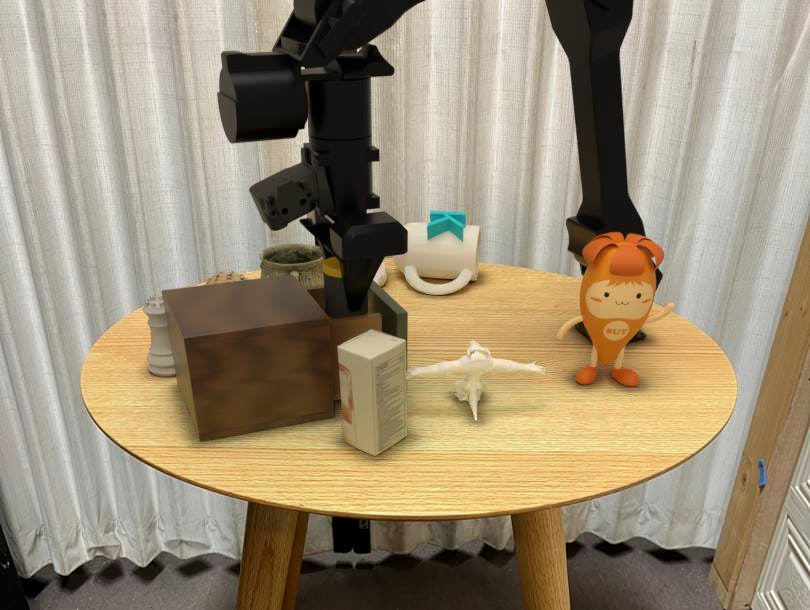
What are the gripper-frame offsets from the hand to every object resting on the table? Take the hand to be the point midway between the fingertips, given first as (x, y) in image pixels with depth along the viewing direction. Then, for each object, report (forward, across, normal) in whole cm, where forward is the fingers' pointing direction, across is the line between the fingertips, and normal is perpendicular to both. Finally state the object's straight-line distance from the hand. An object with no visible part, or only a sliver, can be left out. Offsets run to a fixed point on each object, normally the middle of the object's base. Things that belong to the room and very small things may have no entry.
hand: (346, 301), depth 84 cm
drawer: (+8, 0, -1) cm, 9 cm away
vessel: (+10, -26, +2) cm, 28 cm away
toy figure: (+10, +8, +28) cm, 30 cm away
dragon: (+10, +9, +10) cm, 17 cm away
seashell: (+10, -23, -9) cm, 26 cm away
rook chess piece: (+10, -11, -18) cm, 23 cm away
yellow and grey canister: (+1, 0, 0) cm, 1 cm away
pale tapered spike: (+10, -26, +12) cm, 30 cm away
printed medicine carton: (+10, +12, -2) cm, 15 cm away
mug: (+10, -26, +21) cm, 35 cm away
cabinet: (+9, 0, -11) cm, 14 cm away
